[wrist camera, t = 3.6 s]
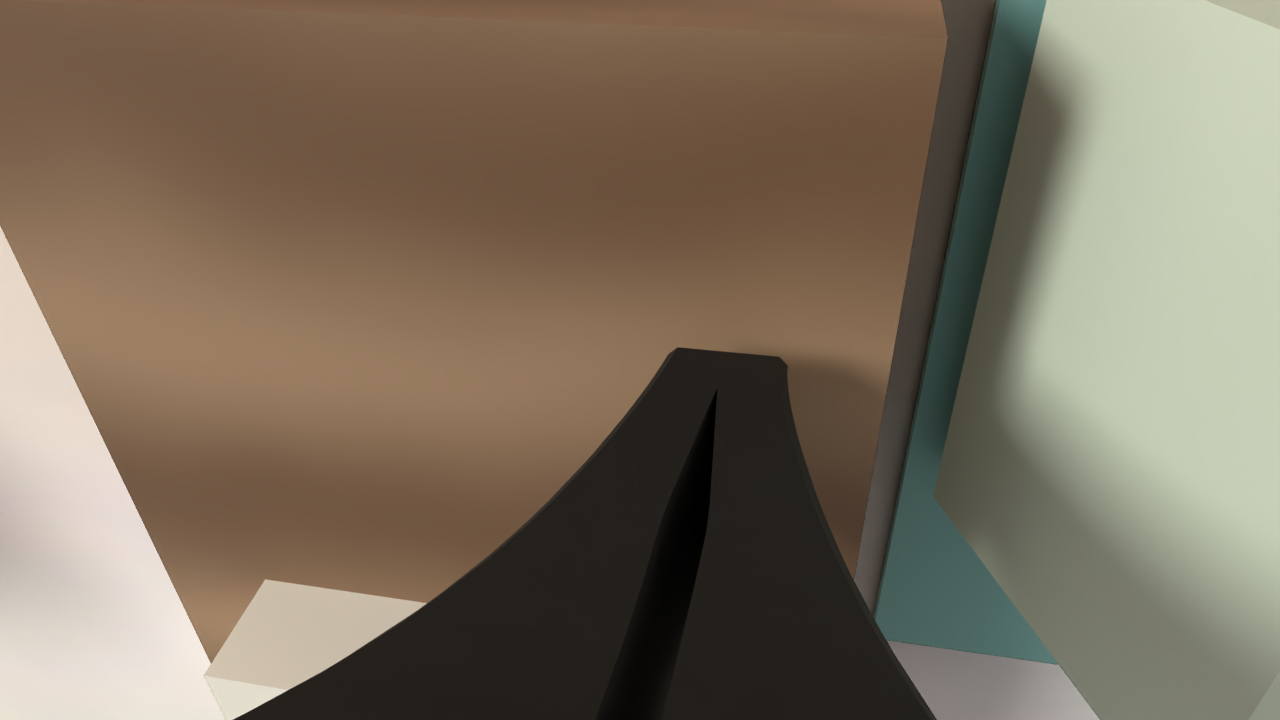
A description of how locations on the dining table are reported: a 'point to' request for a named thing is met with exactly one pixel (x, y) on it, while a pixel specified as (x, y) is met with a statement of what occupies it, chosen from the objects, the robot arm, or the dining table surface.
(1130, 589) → the pale green block
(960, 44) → the dining table surface
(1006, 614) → the mat
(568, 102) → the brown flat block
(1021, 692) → the dining table surface
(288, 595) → the off-white flat block
